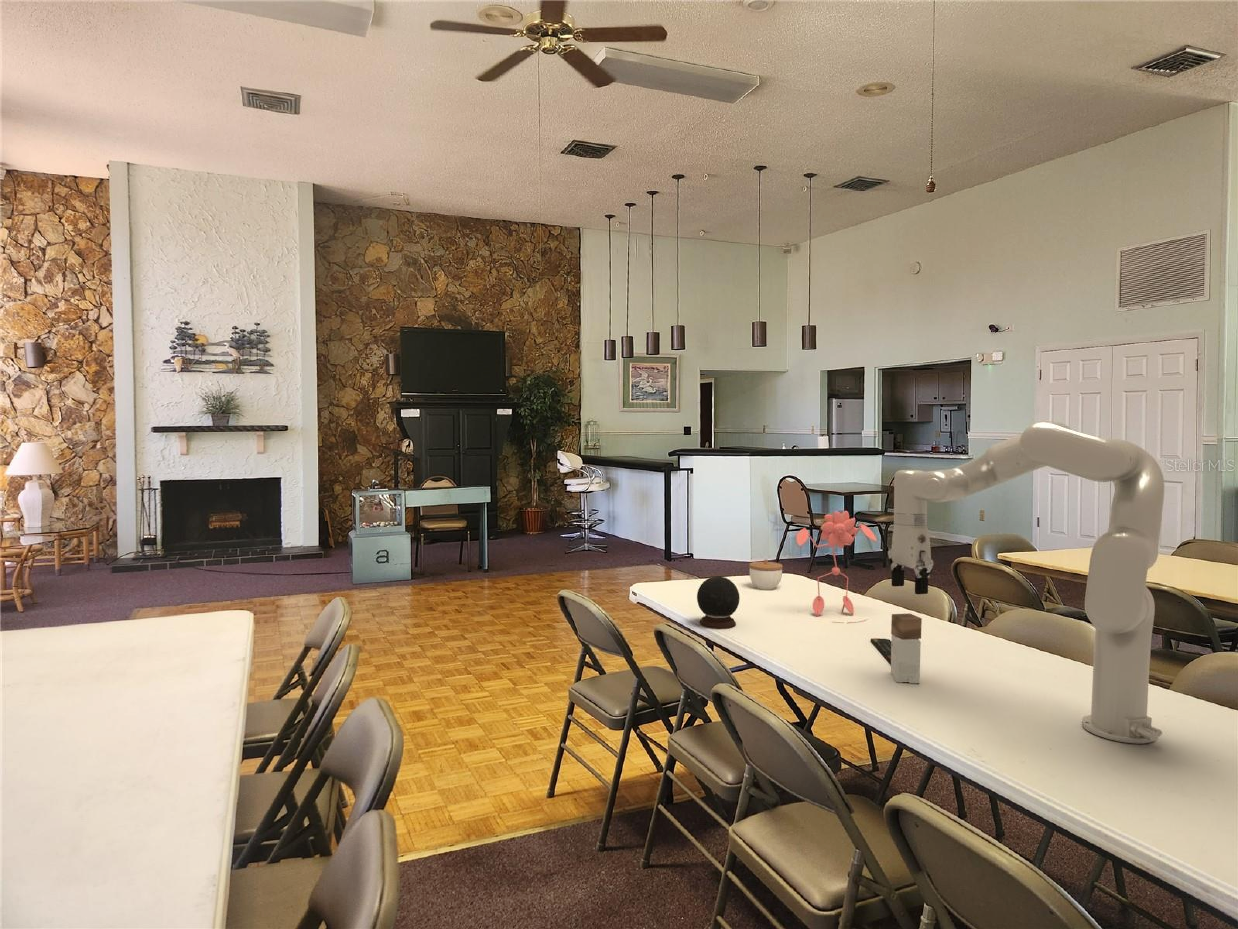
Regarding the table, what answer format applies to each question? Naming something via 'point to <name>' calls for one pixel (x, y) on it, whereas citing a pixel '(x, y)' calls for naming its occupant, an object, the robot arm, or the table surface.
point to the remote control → (883, 647)
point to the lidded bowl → (765, 574)
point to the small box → (905, 659)
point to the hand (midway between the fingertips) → (909, 589)
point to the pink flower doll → (837, 534)
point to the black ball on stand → (718, 602)
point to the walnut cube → (906, 626)
